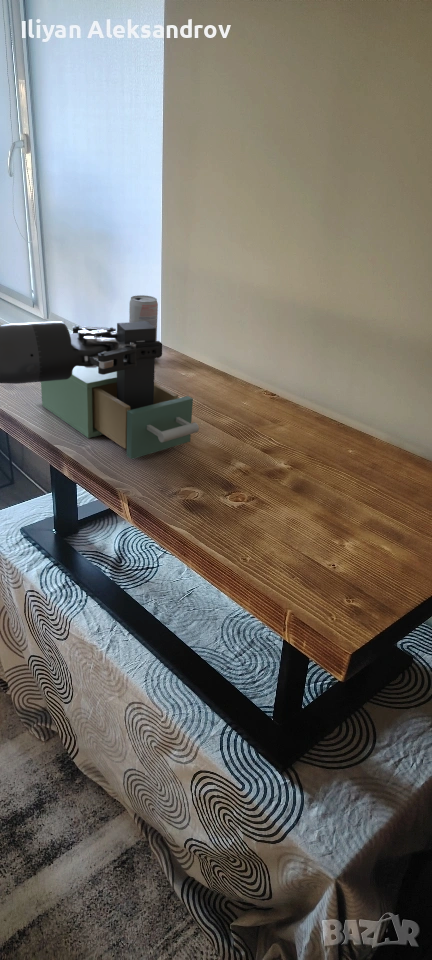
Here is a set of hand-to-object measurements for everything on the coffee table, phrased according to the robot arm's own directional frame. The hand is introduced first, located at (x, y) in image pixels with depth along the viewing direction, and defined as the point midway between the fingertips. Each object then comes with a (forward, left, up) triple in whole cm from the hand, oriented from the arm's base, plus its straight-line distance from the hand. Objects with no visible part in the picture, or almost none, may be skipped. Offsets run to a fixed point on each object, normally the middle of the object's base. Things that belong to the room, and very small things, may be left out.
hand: (155, 344), depth 87 cm
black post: (-1, -3, -12) cm, 13 cm away
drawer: (+2, -3, -13) cm, 14 cm away
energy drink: (-29, +19, -14) cm, 37 cm away
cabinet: (-11, -3, -14) cm, 18 cm away
